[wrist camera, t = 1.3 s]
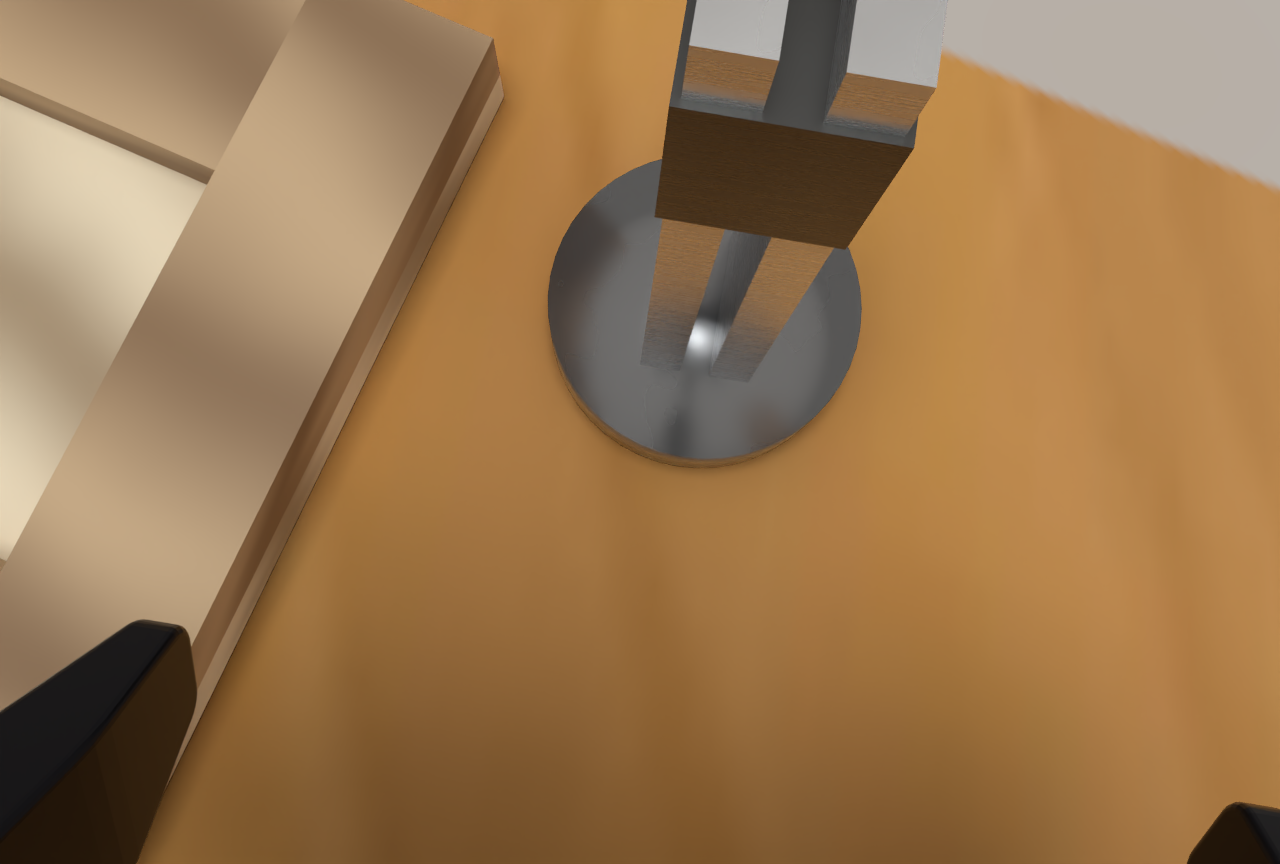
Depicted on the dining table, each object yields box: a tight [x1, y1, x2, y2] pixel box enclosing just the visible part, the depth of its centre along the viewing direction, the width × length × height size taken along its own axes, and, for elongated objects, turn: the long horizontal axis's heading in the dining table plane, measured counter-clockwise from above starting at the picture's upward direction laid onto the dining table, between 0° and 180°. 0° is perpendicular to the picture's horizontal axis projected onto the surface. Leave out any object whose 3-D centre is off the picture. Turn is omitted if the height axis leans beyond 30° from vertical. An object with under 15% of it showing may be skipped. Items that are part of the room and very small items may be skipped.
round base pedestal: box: [548, 0, 948, 468], centre depth 17 cm, size 6×6×14 cm
